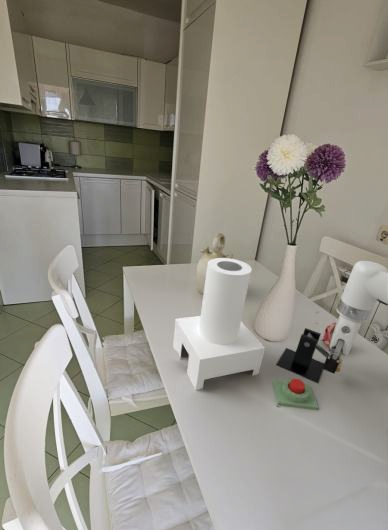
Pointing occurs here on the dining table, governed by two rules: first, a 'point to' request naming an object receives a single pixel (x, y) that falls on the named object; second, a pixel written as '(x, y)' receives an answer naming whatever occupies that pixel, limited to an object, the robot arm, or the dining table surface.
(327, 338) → the flower
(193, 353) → the paper towel holder
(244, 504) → the dining table surface
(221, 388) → the dining table surface
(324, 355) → the lever
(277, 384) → the button block
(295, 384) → the button
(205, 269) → the jug
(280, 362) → the bracket
